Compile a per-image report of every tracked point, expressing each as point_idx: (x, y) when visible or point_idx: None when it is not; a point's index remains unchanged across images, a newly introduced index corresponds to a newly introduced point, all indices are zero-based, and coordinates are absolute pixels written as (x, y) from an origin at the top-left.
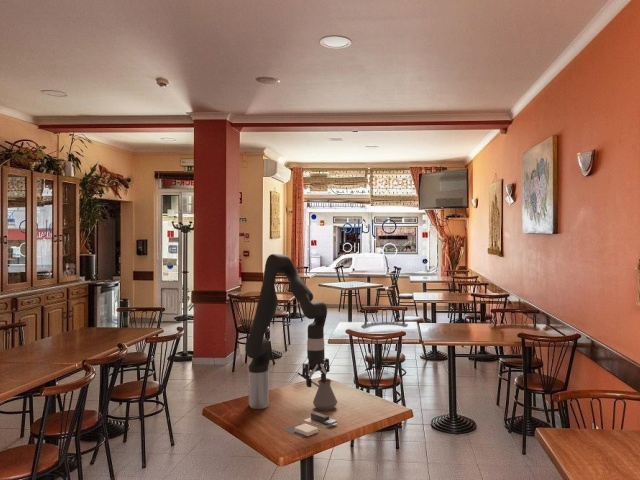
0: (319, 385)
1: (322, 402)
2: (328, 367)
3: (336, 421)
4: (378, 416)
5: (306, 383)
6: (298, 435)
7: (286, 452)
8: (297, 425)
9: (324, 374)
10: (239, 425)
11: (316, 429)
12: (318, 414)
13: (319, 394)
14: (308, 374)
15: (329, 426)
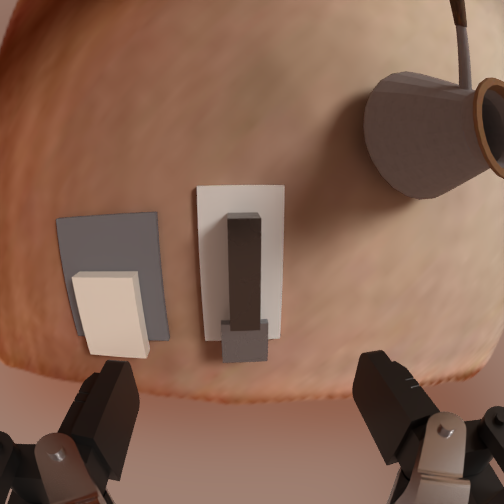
0: (464, 101)
1: (387, 159)
2: (481, 498)
3: (262, 359)
4: (425, 362)
5: (80, 394)
6: (74, 312)
7: (14, 355)
8: (126, 223)
9: (403, 455)
10: (10, 51)
11: (137, 356)
12: (241, 270)
13: (415, 125)
14: (85, 490)
15: None
